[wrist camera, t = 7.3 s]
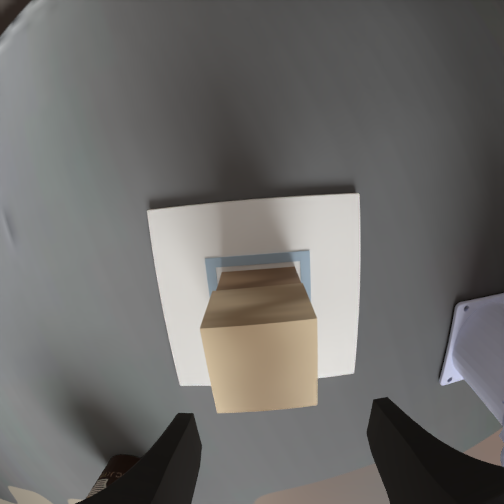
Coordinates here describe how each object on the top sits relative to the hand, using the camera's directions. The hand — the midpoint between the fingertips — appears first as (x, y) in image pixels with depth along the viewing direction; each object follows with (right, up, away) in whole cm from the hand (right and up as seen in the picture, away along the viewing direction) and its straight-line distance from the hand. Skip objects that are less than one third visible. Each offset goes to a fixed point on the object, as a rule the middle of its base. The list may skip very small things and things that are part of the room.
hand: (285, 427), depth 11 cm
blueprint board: (-1, +4, +10) cm, 10 cm away
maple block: (-1, +3, +5) cm, 6 cm away
